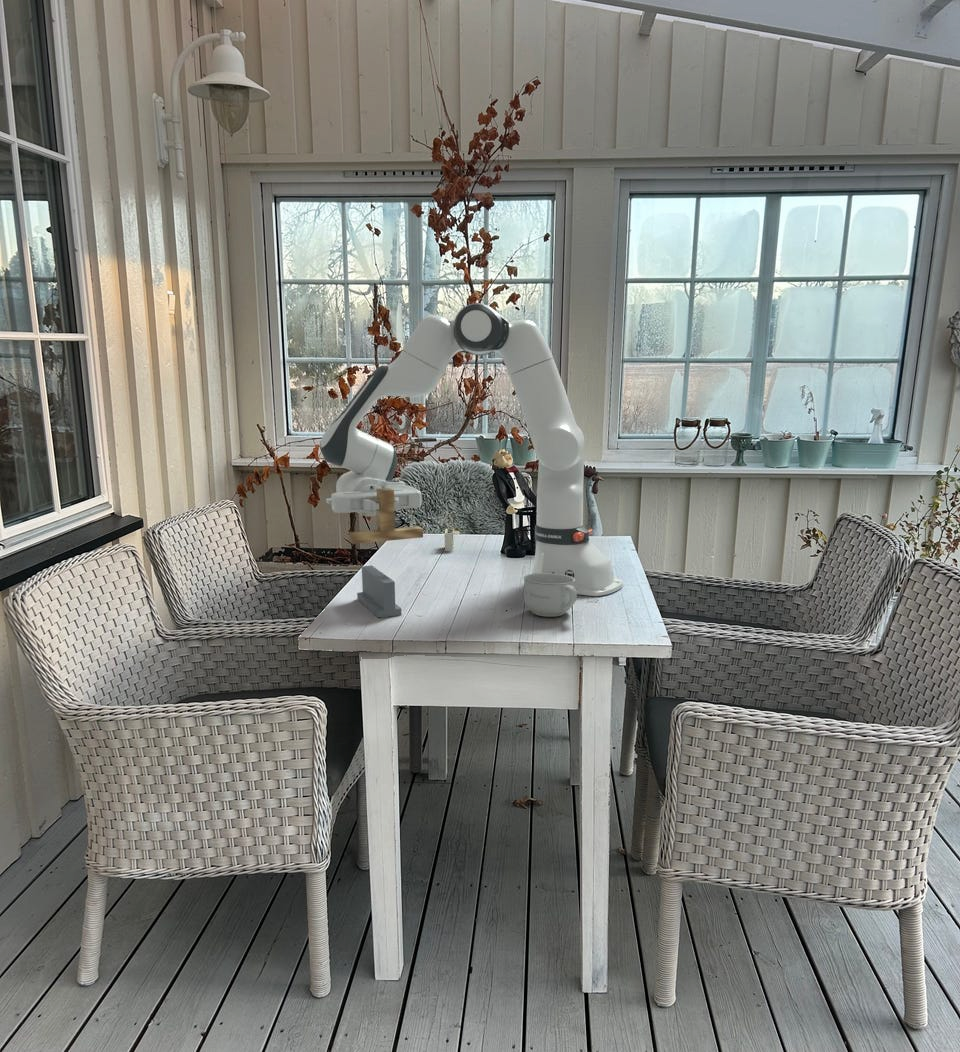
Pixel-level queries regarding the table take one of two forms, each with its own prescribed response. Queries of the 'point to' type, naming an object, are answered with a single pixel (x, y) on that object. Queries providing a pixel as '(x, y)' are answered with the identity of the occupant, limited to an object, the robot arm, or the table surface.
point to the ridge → (378, 593)
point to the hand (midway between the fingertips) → (386, 505)
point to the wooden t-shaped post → (385, 523)
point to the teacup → (549, 593)
